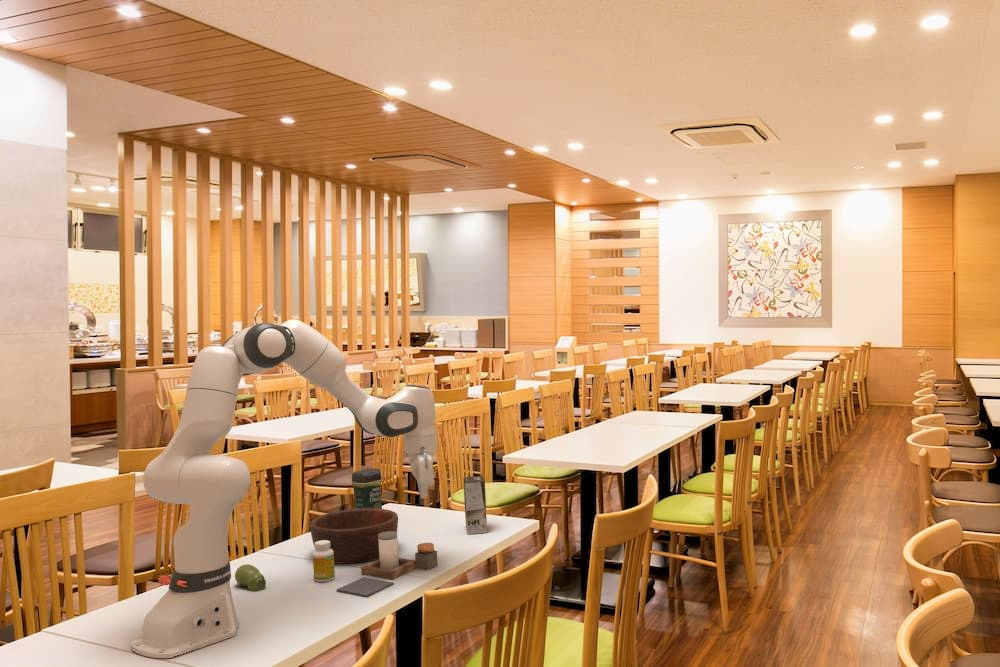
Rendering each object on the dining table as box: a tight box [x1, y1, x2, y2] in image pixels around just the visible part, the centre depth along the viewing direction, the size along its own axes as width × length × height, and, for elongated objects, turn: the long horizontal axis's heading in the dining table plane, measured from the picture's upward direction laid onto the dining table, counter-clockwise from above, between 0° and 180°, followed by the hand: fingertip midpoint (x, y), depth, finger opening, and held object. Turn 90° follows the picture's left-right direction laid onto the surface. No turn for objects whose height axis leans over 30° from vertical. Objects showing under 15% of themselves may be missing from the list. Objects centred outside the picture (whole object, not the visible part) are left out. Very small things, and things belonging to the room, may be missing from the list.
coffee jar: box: [351, 467, 383, 509], centre depth 263 cm, size 10×8×19 cm
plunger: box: [416, 542, 435, 554], centre depth 217 cm, size 4×4×5 cm
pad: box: [336, 577, 395, 598], centre depth 202 cm, size 10×10×1 cm
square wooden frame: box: [360, 550, 439, 581], centre depth 215 cm, size 14×14×4 cm
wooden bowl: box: [309, 508, 399, 564], centre depth 233 cm, size 25×25×10 cm
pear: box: [234, 564, 267, 592], centre depth 208 cm, size 6×5×10 cm
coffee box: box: [462, 475, 488, 535], centre depth 252 cm, size 9×6×16 cm
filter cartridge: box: [378, 531, 400, 570], centre depth 215 cm, size 5×5×10 cm
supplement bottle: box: [312, 540, 336, 583], centre depth 211 cm, size 5×5×10 cm
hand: (423, 496), depth 217 cm, fingers open, 2 cm apart
